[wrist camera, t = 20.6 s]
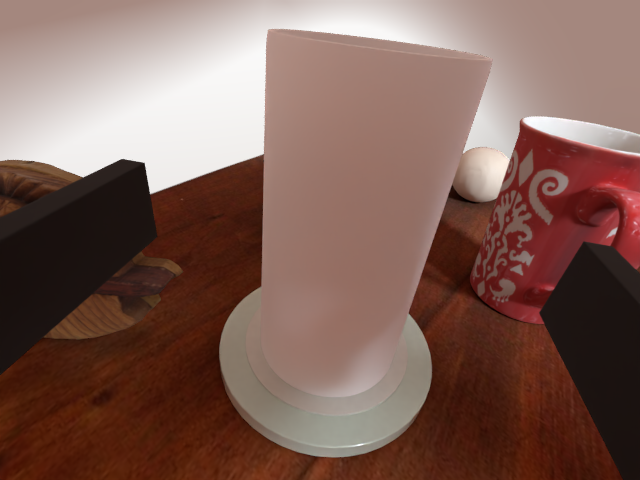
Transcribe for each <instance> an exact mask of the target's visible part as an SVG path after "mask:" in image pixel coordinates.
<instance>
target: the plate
mask: <svg viewBox="0 0 640 480" xmlns="http://www.w3.org/2000/svg"><path fill="white" fill-rule="evenodd" d="M261 287H262V286H261ZM261 287H259V288H258V289H256V290H255V291H253V292H251V293H250V294H249V295H248V296H246V297H245V298H244V299H243V300H242V301H241V302H240V303H239V304H238V305H237V306H236V307H235V309H234V310H233V311H232V313H231V314H230V316H229V318H228V320H227V322H226V323H225V326H224V329H223V331H222V334H221V339H220V345H219V361H220V370H221V376H222V381H223V384H224V387H225V390H226V393H227V395H228V397H229V398H230V400H231V402H232V404H233V406H234V407H235V408H236V410H237V411H238V412H239V414H240V415H241V416H242V418H243V419H244V420H245V421H246V422H247V423H248V424H249V425H250V426H252V427H253V428H254V429H255V430H256V431H258V432H259V433H260V434H262V435H263V436H265V437H266V438H267V439H269V440H271V441H273V442H275V443H277V444H279V445H280V446H283V447H285V448H288V449H291V450H293V451H296V452H299V453H304V454H308V455H312V456H320V457H349V456H354V455H359V454H364V453H367V452H370V451H373V450H375V449H378V448H381V447H383V446H384V445H386V444H388V443H390V442H391V441H393V440H395V439H396V438H397V437H398V436H400V435H401V434H402V433H403V432H405V431H406V430H407V429H408V427H409V426H410V425H411V424H412V423H413V422H414V420H415V419H416V417H417V415H418V414H419V412H420V410H421V409H422V406H423V404H424V402H425V400H426V397H427V395H428V392H429V389H430V384H431V379H432V362H431V355H430V351H429V348H428V344H427V342H426V340H425V337H424V335H423V333H422V331H421V330H420V328H419V326H418V325H417V323H416V322H415V321H414V319H413V318H412V317H411V316H410V314H409V313H408V316H407V318H406V321H405V324H404V327H403V330H402V333H401V336H400V339H399V342H398V345H397V348H396V351H395V354H394V357H393V360H392V363H391V365H390V368H389V370H388V371H387V373H386V374H385V376H384V377H383V378H382V379H381V380H380V381H379V382H378V383H377V384H376V385H374V386H373V387H371V388H370V389H368V390H366V391H364V392H361V393H359V394H356V395H352V396H347V397H321V396H316V395H312V394H309V393H305V392H303V391H300V390H298V389H296V388H294V387H292V386H291V385H289V384H288V383H286V382H285V381H283V380H282V379H281V378H280V377H279V376H278V375H277V374H276V373H275V372H274V371H273V370H272V369H271V367H270V366H269V364H268V363H267V361H266V359H265V357H264V354H263V352H262V348H261Z"/></svg>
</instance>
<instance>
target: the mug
mask: <svg viewBox="0 0 640 480" xmlns="http://www.w3.org/2000/svg"><path fill="white" fill-rule="evenodd" d="M583 241H585V242H590V243H596V244H601V245H607V246H613V247H614V248H615V249H616V250H617V251H618V252H619V253H620V254H621V255H622V256H623V257H624V258H625V259H626V260H627V261H628V262H629V263H630V264H631V265H632V266H633V267H634V268H635V269H637V268H638V267H639V266H640V135H639V134H635V133H632V132H628V131H624V130H620V129H615V128H611V127H607V126H602V125H597V124H592V123H587V122H581V121H575V120H569V119H561V118H553V117H540V116H538V117H537V116H536V117H535V116H534V117H525V118H523V119H521V121H520V132H519V136H518V139H517V142H516V145H515V148H514V150H513V153H512V156H511V159H510V162H509V164H508V168H507V170H506V173H505V176H504V179H503V182H502V185H501V188H500V191H499V194H498V197H497V200H496V203H495V206H494V209H493V212H492V215H491V218H490V221H489V224H488V226H487V229H486V232H485V235H484V238H483V241H482V244H481V246H480V249H479V252H478V255H477V258H476V260H475V263H474V266H473V268H472V271H471V275H470V283H471V286H472V288H473V290H474V291H475V293H476V294H477V295H478V296H479V297H480V298H481V299H482V300H483V301H484V302H485V303H486V304H488V305H489V306H490V307H492V308H493V309H495V310H497V311H498V312H500V313H502V314H504V315H506V316H508V317H511V318H513V319H516V320H520V321H523V322H528V323H534V324H544V322H543V320H542V318H541V316H540V314H539V312H540V311H541V309H542V307H543V306H544V304H545V303H546V301H547V299H548V298H549V296H550V295H551V293H552V291H553V290H554V288H555V286H556V285H557V283H558V282H559V280H560V278H561V277H562V275H563V274H564V272H565V270H566V269H567V267H568V266H569V264H570V262H571V261H572V259H573V258H574V256H575V254H576V253H577V251H578V249H579V248H580V246H581V245H582V243H583Z"/></svg>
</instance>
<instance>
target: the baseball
mask: <svg viewBox="0 0 640 480" xmlns="http://www.w3.org/2000/svg"><path fill="white" fill-rule="evenodd" d="M509 162H510V161H509V159H508V158H507V157H506V156H505V155H504V154H503V153H502V152H500V151H498V150H496V149H493V148H487V147H478V148H473V149H470V150H468V151H466V152H465V153H464V154H462V156H461V159H460V162H459V165H458V168H457V171H456V174H455V177H454V180H453V183H452V185H453V187H454V189H455V190H456V192H457V193H458V194H459V195H460V196H461V197H463V198H465V199H467V200H470V201H474V202H487V201H491V200H494V199H496V198H497V197H498V194H499V191H500V188H501V185H502V182H503V179H504V176H505V173H506V170H507V168H508V164H509Z"/></svg>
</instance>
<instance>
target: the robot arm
mask: <svg viewBox="0 0 640 480" xmlns="http://www.w3.org/2000/svg"><path fill="white" fill-rule="evenodd" d="M155 238H157V232H156V226H155V220H154V214H153V209H152V203H151V197H150V192H149V186H148V180H147V175H146V169H145V163H142V162H136V161H131V160H125V159H121V160H119V161H117V162H115V163H113V164H111V165H108V166H106V167H104V168H102V169H100V170H98V171H97V172H94V173H92V174H90V175H88V176H86V177H84V178H81V179H79V180H77V181H75V182H73V183H71V184H69V185H67V186H65V187H63V188H61V189H59V190H56V191H54V192H52V193H50V194H48V195H46V196H44V197H42V198H40V199H38V200H36V201H34V202H31V203H29V204H27V205H25V206H23V207H21V208H19V209H17V210H15V211H13V212H11V213H9V214H7V215H4V216H2V217H0V375H1V374H2V373H3V372H4V371H5V370H6V369H8V368H9V367H10V366H11V365H12V364H13V363H14V362H16V361H17V360H18V359H19V358H20V357H21V356H22V355H24V354H25V353H26V352H27V351H28V350H29V349H30V348H32V347H33V346H34V345H35V344H36V343H37V342H38V341H39V340H41V339H42V338H43V337H44V336H45V335H46V334H47V333H49V332H50V331H51V330H52V329H53V328H54V327H55V326H57V325H58V324H59V323H60V322H61V321H62V320H63V319H64V318H66V317H67V316H68V315H69V314H70V313H71V312H72V311H74V310H75V309H76V308H77V307H78V306H79V305H80V304H82V303H83V302H84V301H85V300H86V299H87V298H88V297H89V296H91V295H92V294H93V293H94V292H95V291H96V290H97V289H99V288H100V287H101V286H102V285H103V284H104V283H105V282H107V281H108V280H109V279H110V278H111V277H112V276H113V275H114V274H116V273H117V272H118V271H119V270H120V269H121V268H122V267H124V266H125V265H126V264H127V263H128V262H129V261H130V260H132V259H133V258H134V257H135V256H136V255H137V254H138V253H140V252H141V251H142V250H143V249H144V248H145V247H146V246H147V245H149V244H150V243H151V242H152V241H153V240H154V239H155ZM539 314H540V316H541V318H542V320H543V322H544V324H545V326H546V328H547V330H548V332H549V334H550V336H551V338H552V340H553V342H554V344H555V346H556V348H557V350H558V352H559V354H560V356H561V358H562V360H563V362H564V364H565V366H566V368H567V370H568V371H569V373H570V375H571V377H572V379H573V381H574V383H575V385H576V387H577V389H578V391H579V393H580V395H581V397H582V399H583V401H584V403H585V405H586V407H587V409H588V411H589V413H590V415H591V417H592V419H593V421H594V423H595V425H596V427H597V429H598V431H599V433H600V435H601V437H602V439H603V441H604V443H605V445H606V447H607V449H608V451H609V453H610V455H611V457H612V459H613V461H614V463H615V464H616V466H617V468H618V470H619V472H620V474H621V476H622V478H623V480H640V273H639V272H638V271H637V270H636V269H635V268H634V267H633V266H632V265H631V264H630V263H629V262H628V261H627V260H626V259H625V258H624V257H623V256H622V255H621V254H620V253H619V252H618V251H617V250H616V249H615V248H614V247H613V246H607V245H601V244H596V243H590V242H585V241H583V243H582V245H581V246H580V248H579V249H578V251H577V253H576V254H575V256H574V258H573V259H572V261H571V262H570V264H569V266H568V267H567V269H566V270H565V272H564V274H563V275H562V277H561V278H560V280H559V282H558V283H557V285H556V286H555V288H554V290H553V291H552V293H551V295H550V296H549V298H548V299H547V301H546V303H545V304H544V306H543V307H542V309H541V311H540V312H539Z"/></svg>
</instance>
